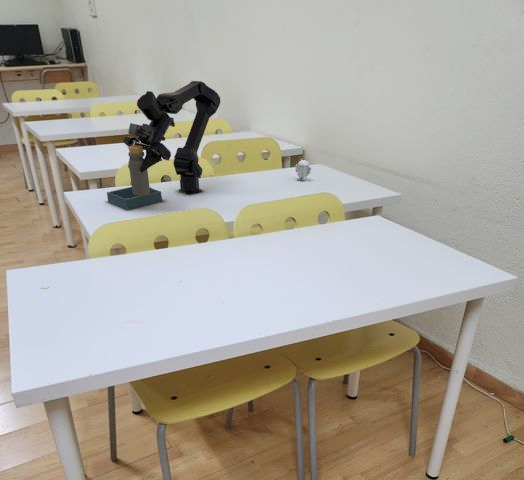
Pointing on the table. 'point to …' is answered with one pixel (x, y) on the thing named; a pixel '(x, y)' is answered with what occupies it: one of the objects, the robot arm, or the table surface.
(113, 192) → the basin
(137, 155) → the bottle
